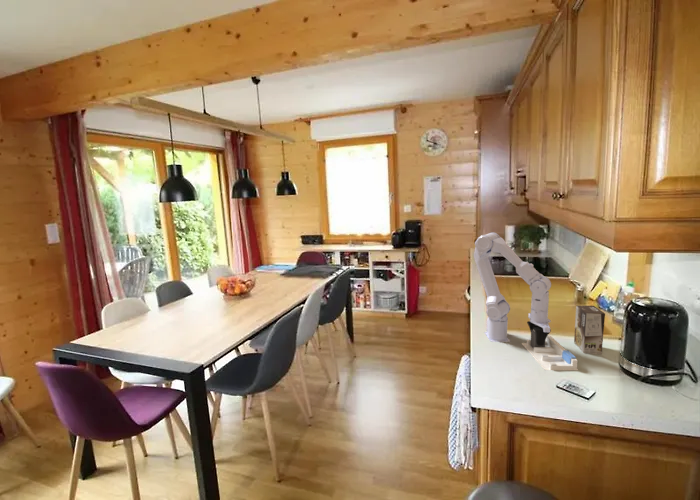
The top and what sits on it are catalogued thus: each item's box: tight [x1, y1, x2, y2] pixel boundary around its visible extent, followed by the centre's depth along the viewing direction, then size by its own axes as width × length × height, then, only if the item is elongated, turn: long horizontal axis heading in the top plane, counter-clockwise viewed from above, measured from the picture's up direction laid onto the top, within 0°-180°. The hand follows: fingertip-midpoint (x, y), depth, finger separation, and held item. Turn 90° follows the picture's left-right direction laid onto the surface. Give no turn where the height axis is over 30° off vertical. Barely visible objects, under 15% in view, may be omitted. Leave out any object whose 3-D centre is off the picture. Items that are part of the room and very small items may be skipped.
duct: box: [521, 334, 579, 371], centre depth 132 cm, size 21×11×4 cm, turn 175°
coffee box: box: [573, 305, 606, 355], centre depth 135 cm, size 9×6×16 cm
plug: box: [530, 329, 545, 349], centre depth 138 cm, size 4×4×7 cm
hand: (537, 342), depth 138 cm, fingers closed on plug, 4 cm apart
